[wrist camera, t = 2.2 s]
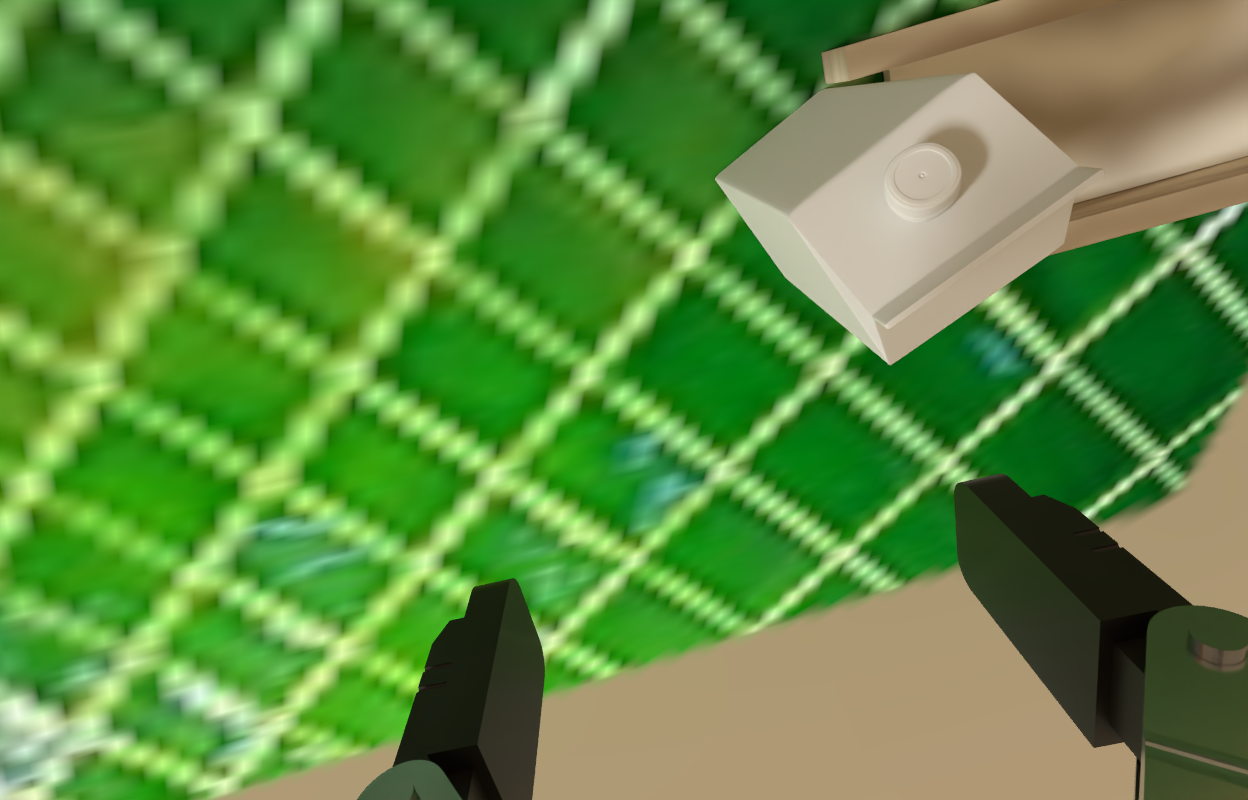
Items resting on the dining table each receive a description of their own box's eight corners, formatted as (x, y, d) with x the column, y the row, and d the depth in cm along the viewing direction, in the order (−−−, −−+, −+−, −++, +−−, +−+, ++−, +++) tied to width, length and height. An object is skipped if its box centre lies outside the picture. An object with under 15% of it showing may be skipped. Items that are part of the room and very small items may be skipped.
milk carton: (890, 197, 37) (1152, 269, 20) (784, 277, 39) (941, 410, 21) (822, 87, 35) (1051, 59, 18) (712, 177, 37) (823, 234, 19)
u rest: (821, 53, 34) (845, 46, 31) (1314, -94, 33) (1392, -116, 30) (853, 286, 39) (877, 302, 36) (1283, 169, 38) (1348, 174, 35)
